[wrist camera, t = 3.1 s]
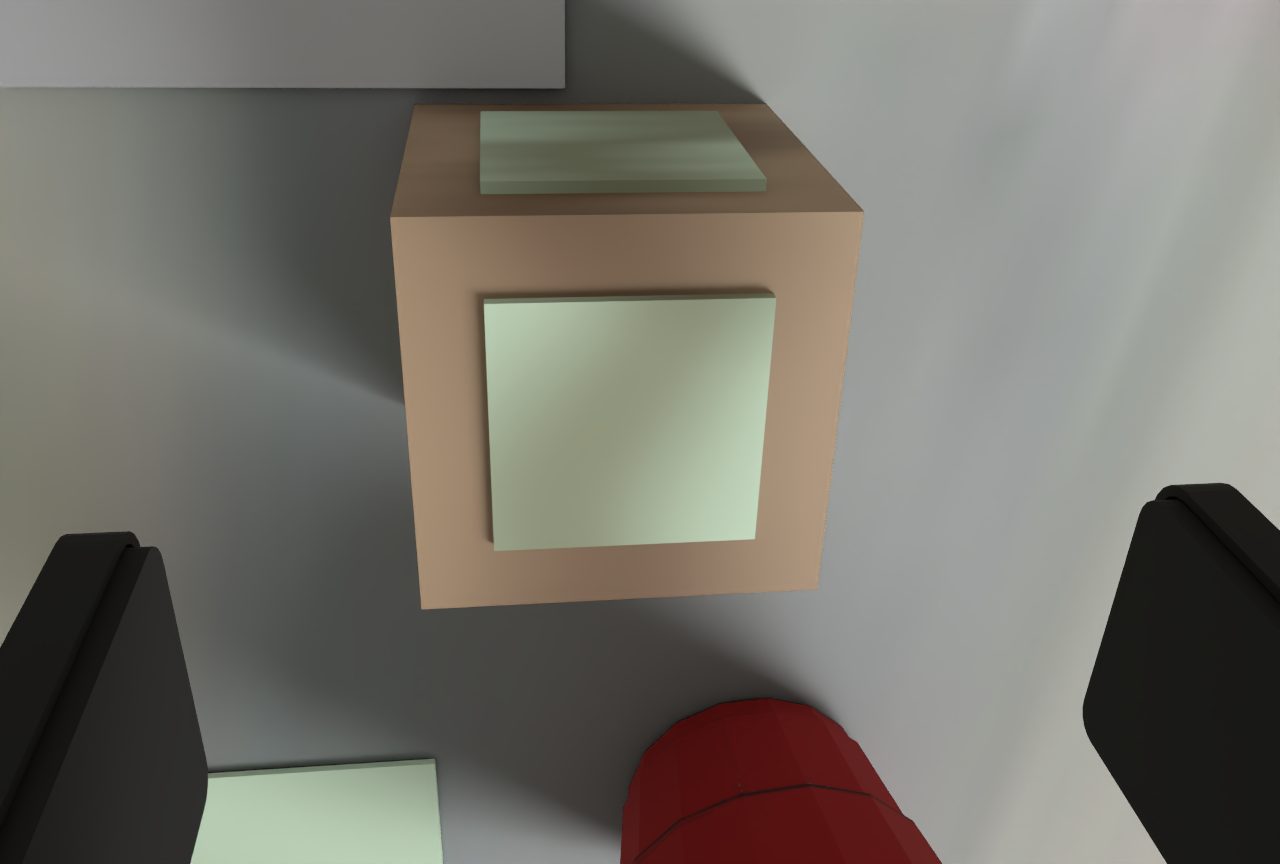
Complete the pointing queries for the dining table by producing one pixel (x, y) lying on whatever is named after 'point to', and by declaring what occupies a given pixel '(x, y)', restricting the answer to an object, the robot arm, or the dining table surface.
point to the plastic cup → (763, 794)
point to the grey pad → (283, 43)
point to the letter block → (618, 349)
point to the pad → (323, 815)
